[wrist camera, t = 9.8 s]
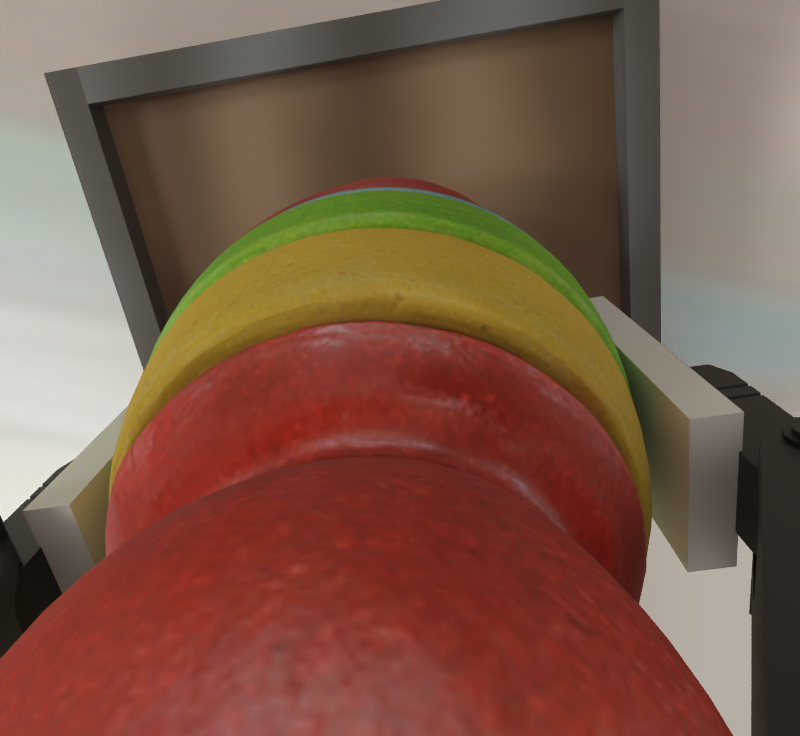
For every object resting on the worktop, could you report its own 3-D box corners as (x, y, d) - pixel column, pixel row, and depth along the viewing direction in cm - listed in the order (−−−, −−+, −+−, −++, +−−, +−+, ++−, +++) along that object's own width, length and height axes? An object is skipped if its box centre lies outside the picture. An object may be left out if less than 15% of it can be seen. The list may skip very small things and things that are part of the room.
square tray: (239, 493, 29) (208, 562, 24) (117, 85, 23) (44, 73, 18) (618, 441, 28) (661, 503, 23) (603, -3, 22) (658, -40, 17)
